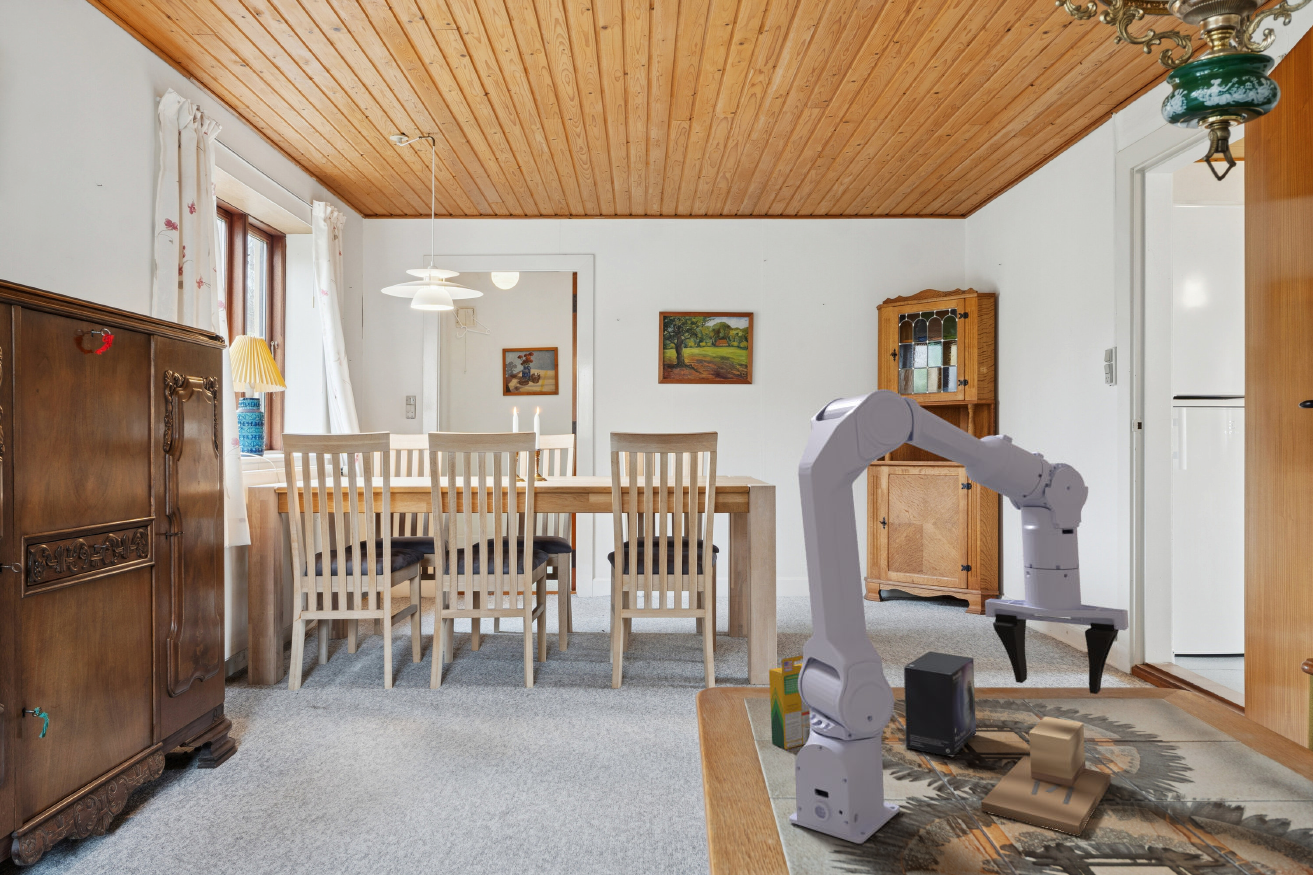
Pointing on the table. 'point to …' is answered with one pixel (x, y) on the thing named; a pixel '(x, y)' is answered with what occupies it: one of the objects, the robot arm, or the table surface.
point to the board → (1047, 798)
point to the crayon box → (788, 706)
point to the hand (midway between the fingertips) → (1057, 685)
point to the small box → (939, 703)
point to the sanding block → (1057, 751)
